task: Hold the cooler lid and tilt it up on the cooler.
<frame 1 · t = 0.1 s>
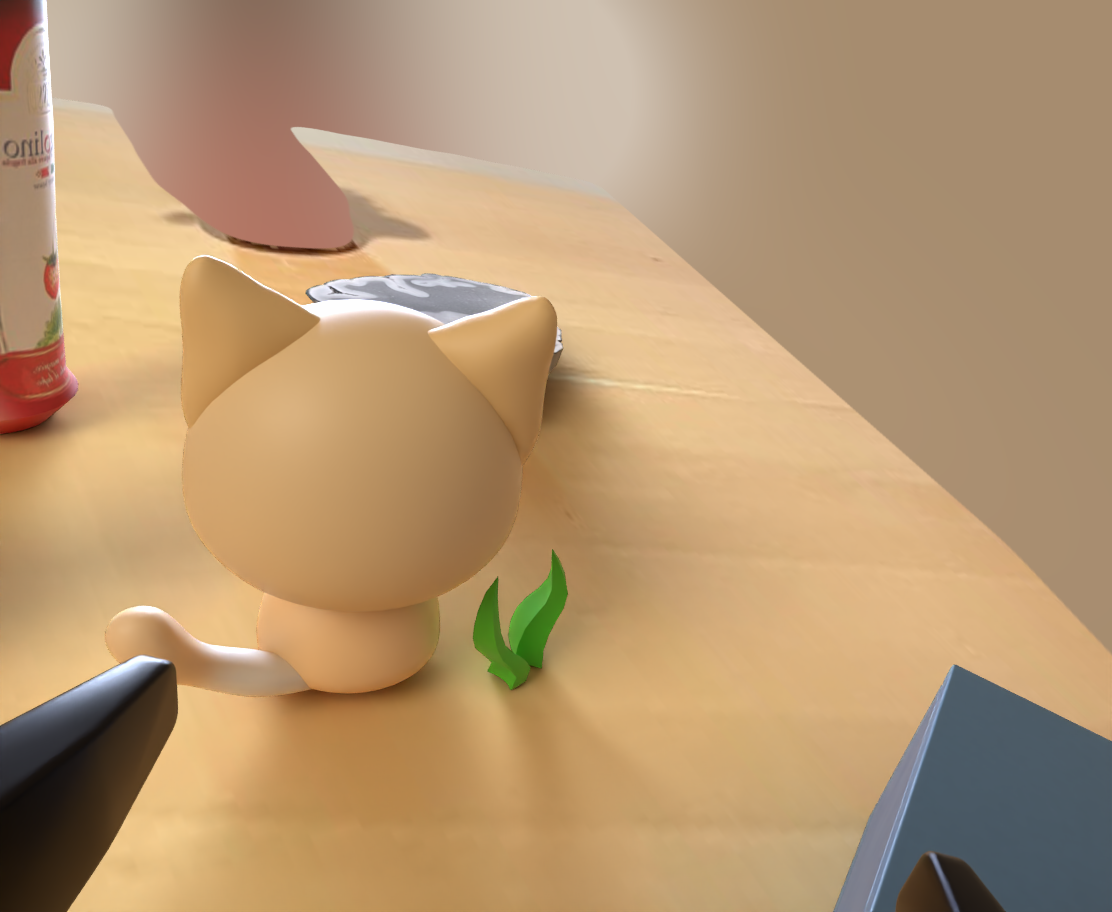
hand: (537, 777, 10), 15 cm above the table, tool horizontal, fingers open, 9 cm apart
beige cat figurine: (359, 654, 32), on the table
grey flat stone slab: (428, 366, 56), on the table
liquor: (1, 415, 42), on the table
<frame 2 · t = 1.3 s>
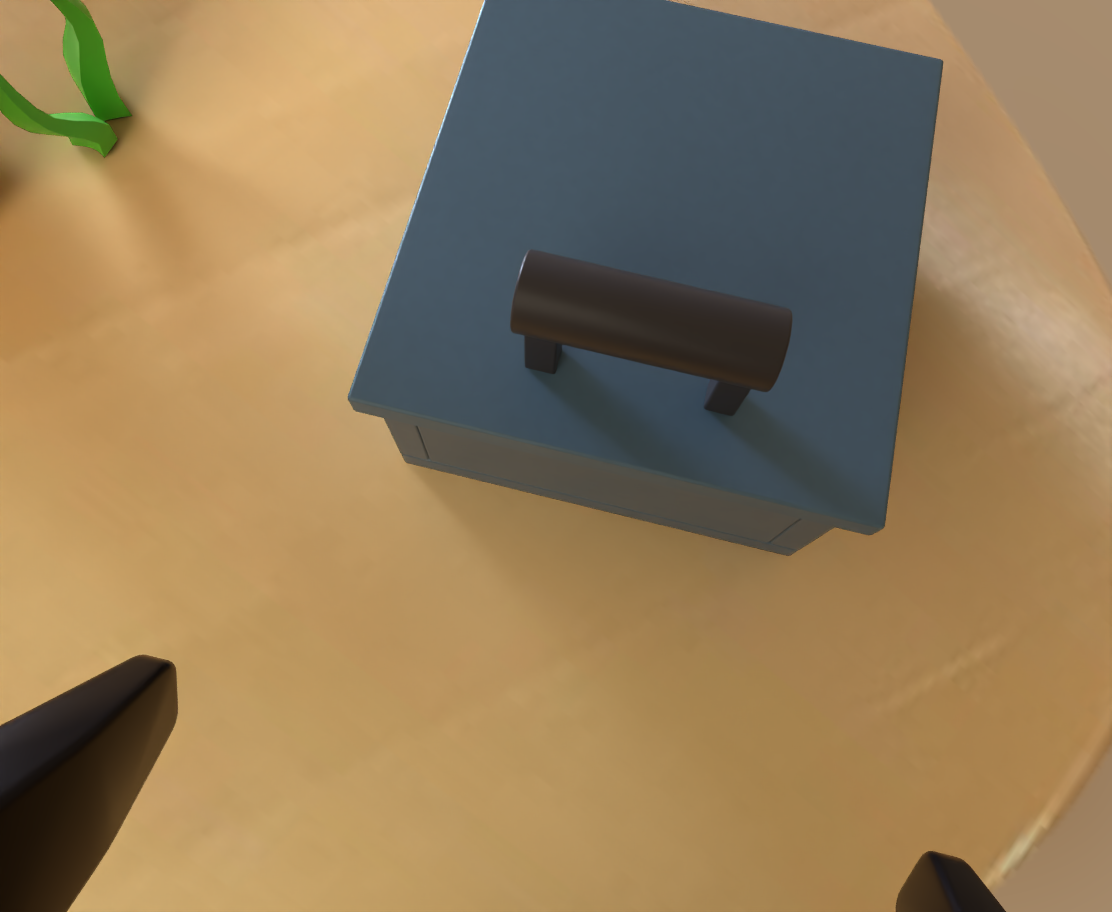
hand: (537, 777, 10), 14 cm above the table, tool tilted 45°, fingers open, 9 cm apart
cooler lid: (680, 178, 18), point 9 cm above the table, hinge at 0.0°
cooler: (636, 334, 27), on the table
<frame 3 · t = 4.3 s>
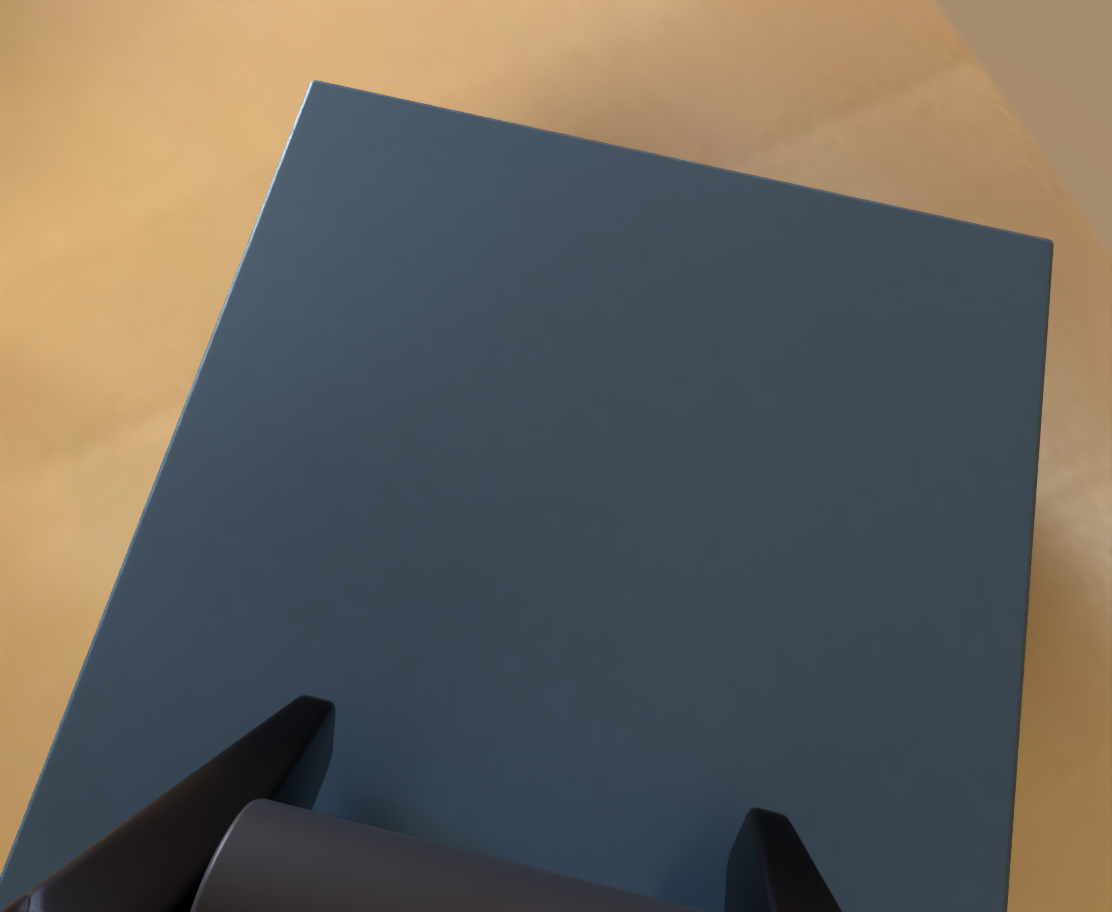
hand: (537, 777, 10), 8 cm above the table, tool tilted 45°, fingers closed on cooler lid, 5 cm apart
cooler lid: (594, 525, 10), point 9 cm above the table, hinge at 0.0°, touching gripper
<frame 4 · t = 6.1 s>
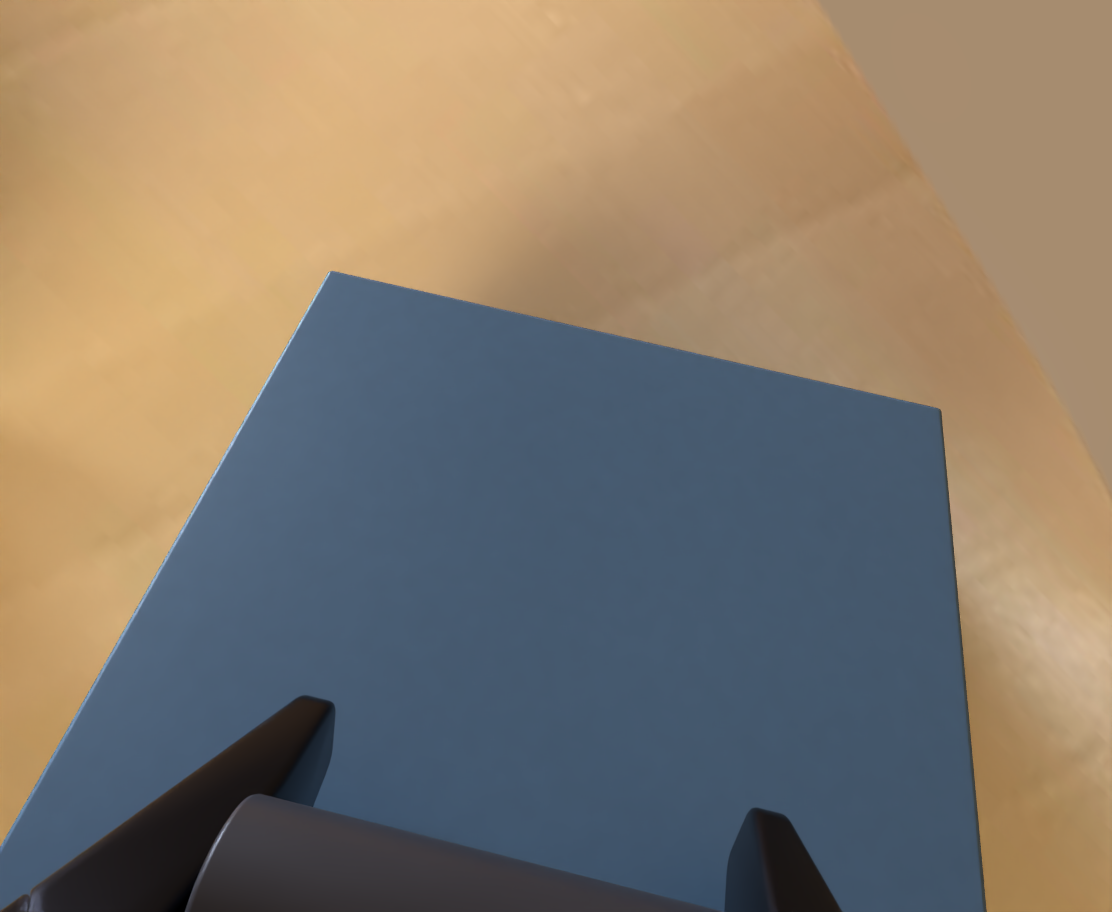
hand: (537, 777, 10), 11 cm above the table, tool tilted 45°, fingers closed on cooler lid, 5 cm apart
cooler lid: (575, 596, 11), point 11 cm above the table, hinge at 22.2°, touching gripper
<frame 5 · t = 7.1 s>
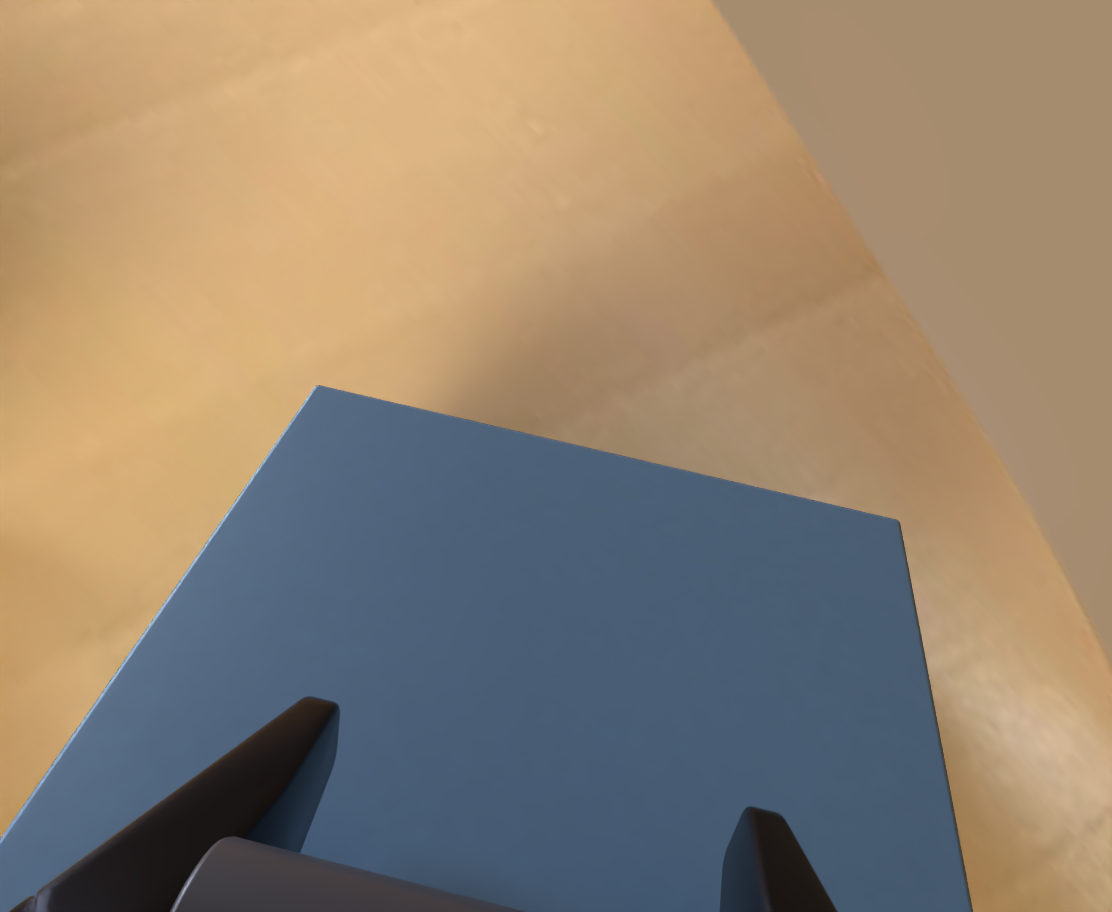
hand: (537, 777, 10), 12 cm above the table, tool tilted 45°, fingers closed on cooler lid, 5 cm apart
cooler lid: (557, 673, 11), point 12 cm above the table, hinge at 30.6°, touching gripper
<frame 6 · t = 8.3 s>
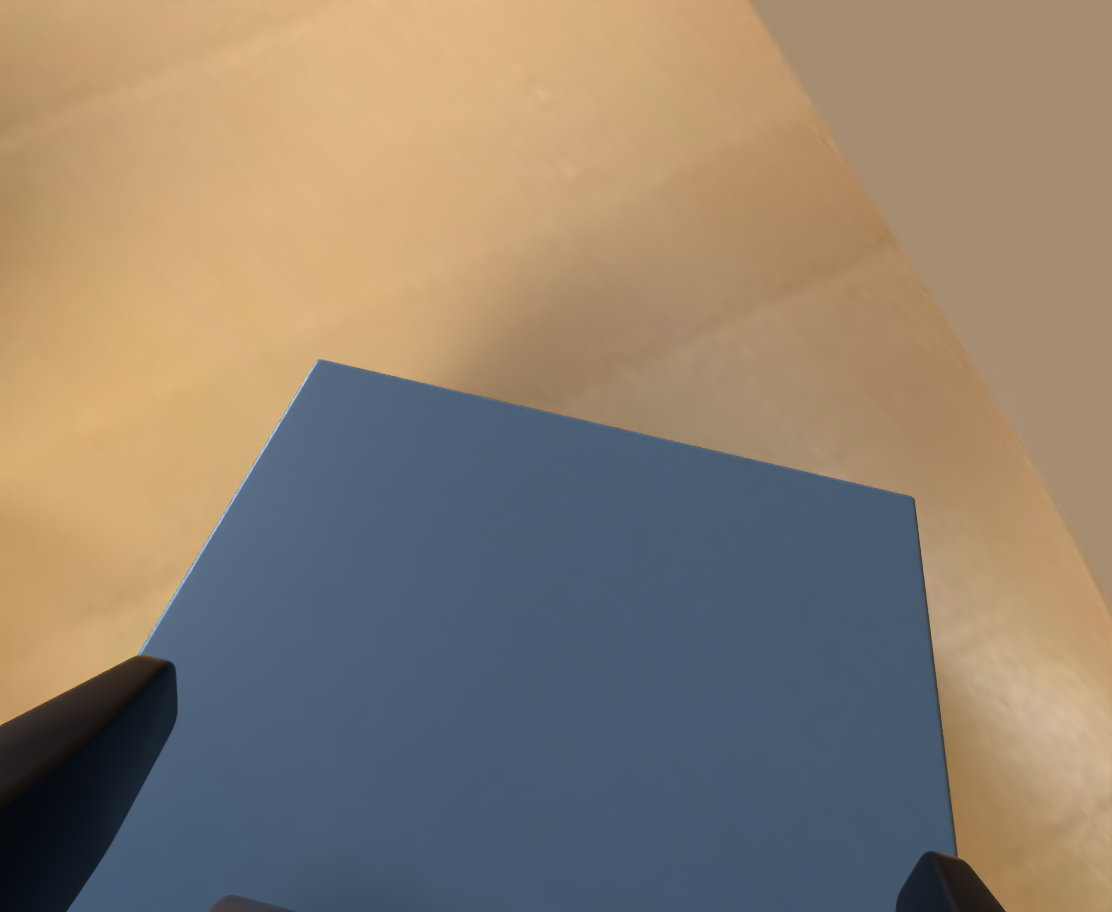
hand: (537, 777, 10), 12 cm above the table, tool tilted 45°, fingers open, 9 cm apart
cooler lid: (556, 685, 11), point 11 cm above the table, hinge at 25.6°
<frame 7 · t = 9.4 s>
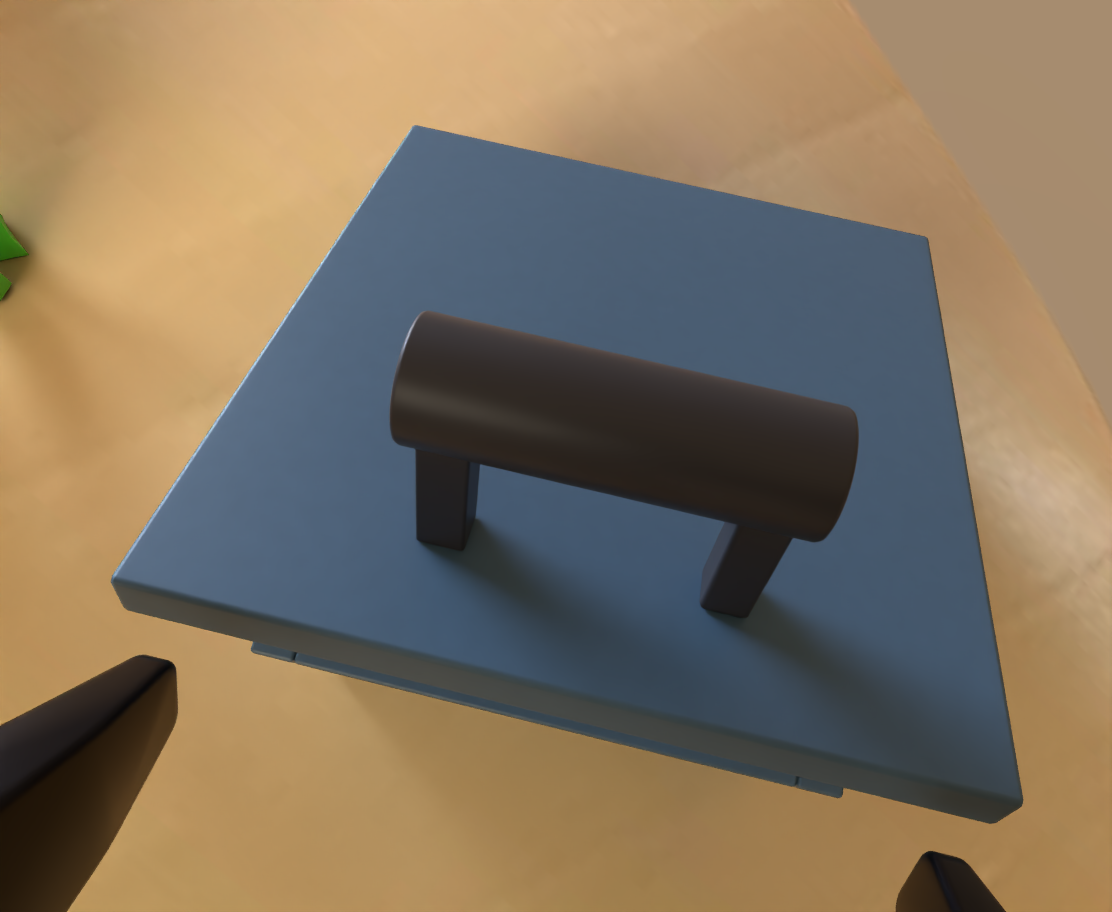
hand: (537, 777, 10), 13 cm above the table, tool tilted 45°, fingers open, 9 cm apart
cooler lid: (643, 298, 14), point 11 cm above the table, hinge at 25.0°
cooler: (588, 508, 24), on the table
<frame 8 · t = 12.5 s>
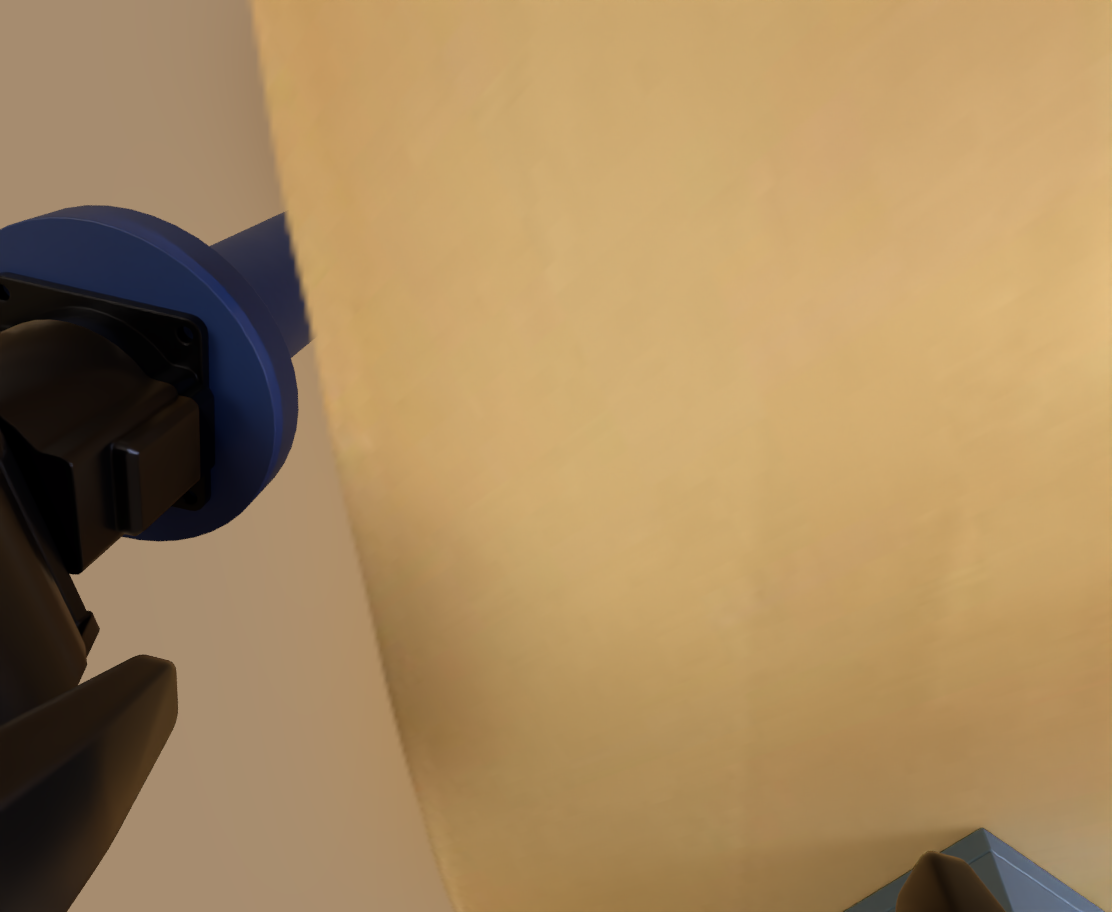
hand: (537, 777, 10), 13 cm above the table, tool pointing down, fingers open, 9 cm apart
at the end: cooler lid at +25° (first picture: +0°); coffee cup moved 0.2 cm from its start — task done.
